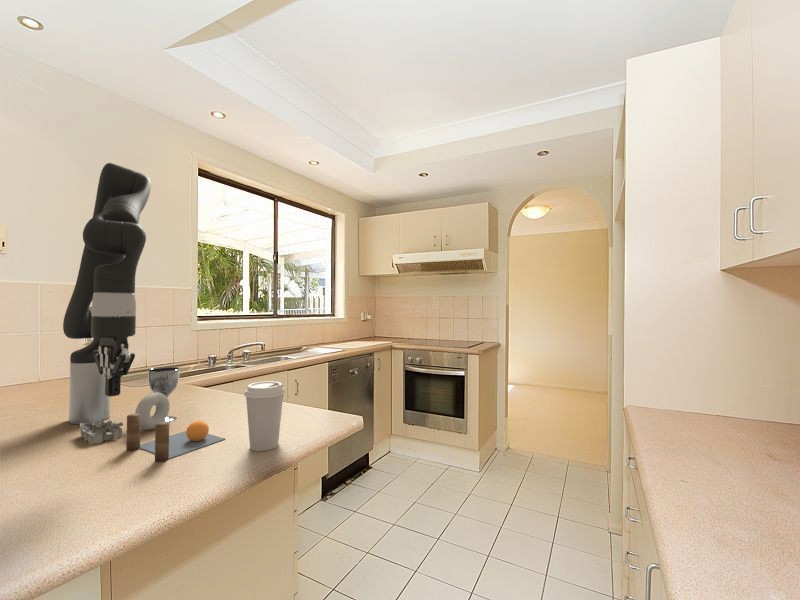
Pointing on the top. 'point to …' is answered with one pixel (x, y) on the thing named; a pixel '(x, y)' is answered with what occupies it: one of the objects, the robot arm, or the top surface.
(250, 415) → the coffee cup
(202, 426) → the ball
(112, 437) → the egg carton
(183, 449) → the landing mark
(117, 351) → the robot arm
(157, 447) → the post
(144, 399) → the donut
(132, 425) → the post
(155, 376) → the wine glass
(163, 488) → the top surface
